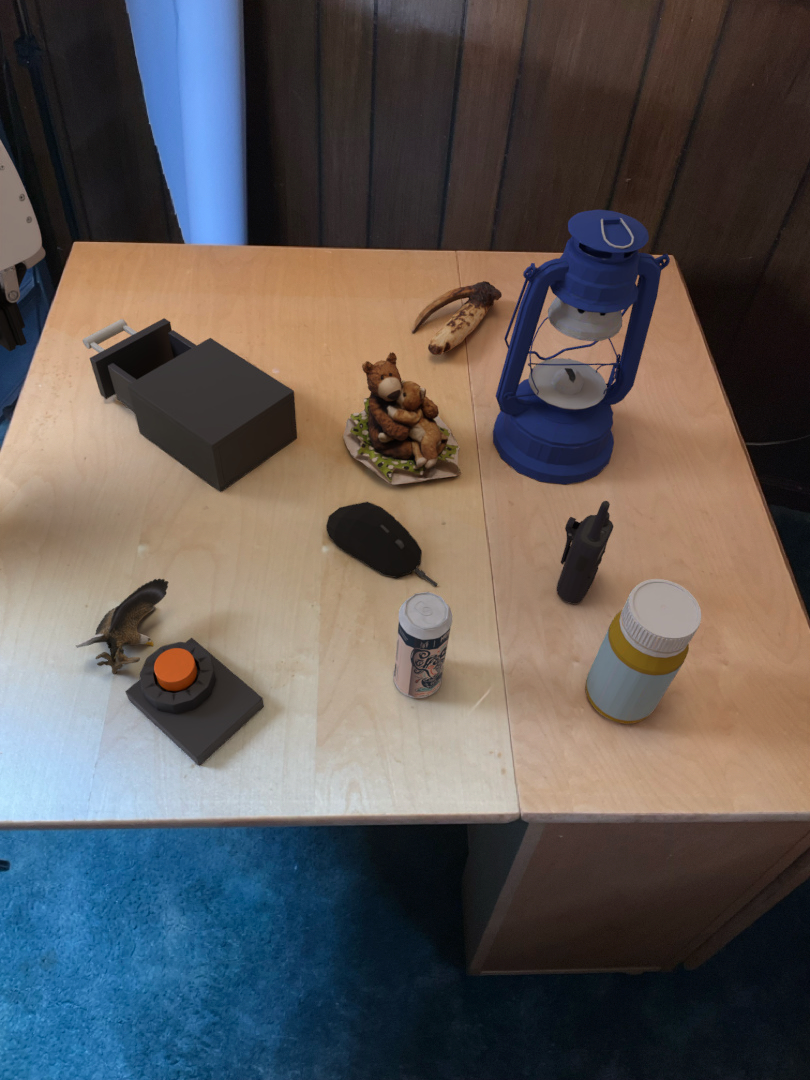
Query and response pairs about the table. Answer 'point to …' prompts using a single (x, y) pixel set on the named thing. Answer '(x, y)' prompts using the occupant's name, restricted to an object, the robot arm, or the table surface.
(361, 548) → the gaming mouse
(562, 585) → the two-way radio
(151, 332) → the open drawer
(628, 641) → the bottle
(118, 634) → the eagle figurine
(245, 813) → the table surface
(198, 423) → the black drawer box
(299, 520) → the table surface
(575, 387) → the lantern
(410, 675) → the beer can
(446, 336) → the lashed bone hook
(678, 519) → the table surface
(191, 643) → the control block
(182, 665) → the button
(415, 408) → the bear figurine
